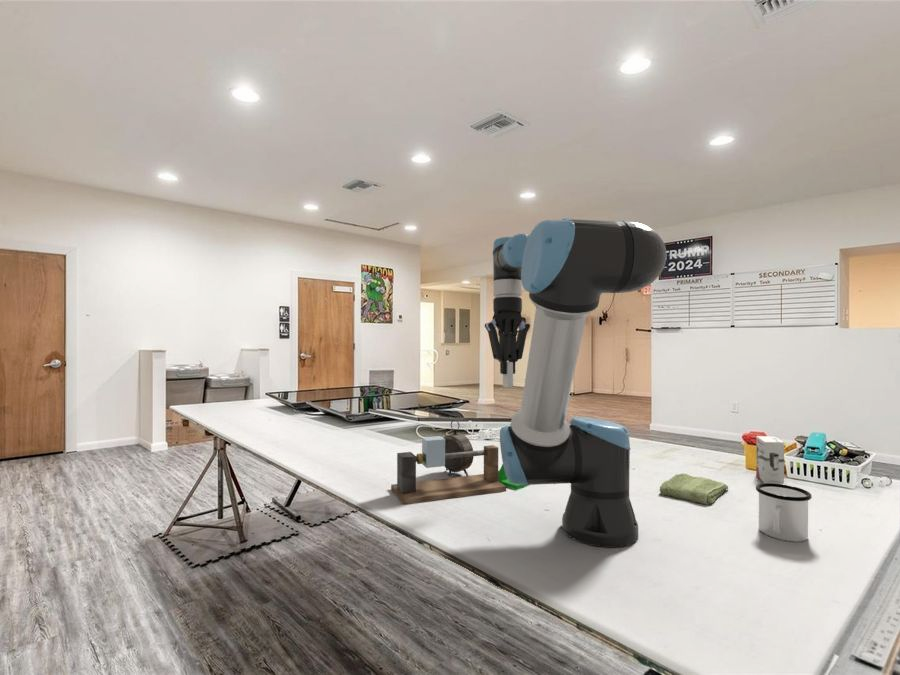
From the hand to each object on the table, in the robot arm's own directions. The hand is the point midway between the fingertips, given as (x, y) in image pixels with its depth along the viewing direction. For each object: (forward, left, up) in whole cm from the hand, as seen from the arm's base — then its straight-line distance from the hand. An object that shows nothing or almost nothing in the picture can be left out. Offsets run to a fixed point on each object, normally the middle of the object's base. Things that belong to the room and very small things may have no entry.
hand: (507, 386), depth 124 cm
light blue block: (+6, +19, -21) cm, 28 cm away
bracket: (+6, -7, -28) cm, 30 cm away
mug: (-45, -40, -28) cm, 66 cm away
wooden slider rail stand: (+6, +14, -28) cm, 32 cm away
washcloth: (-18, -46, -28) cm, 56 cm away
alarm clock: (+18, +8, -28) cm, 34 cm away
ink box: (-18, -74, -28) cm, 81 cm away
